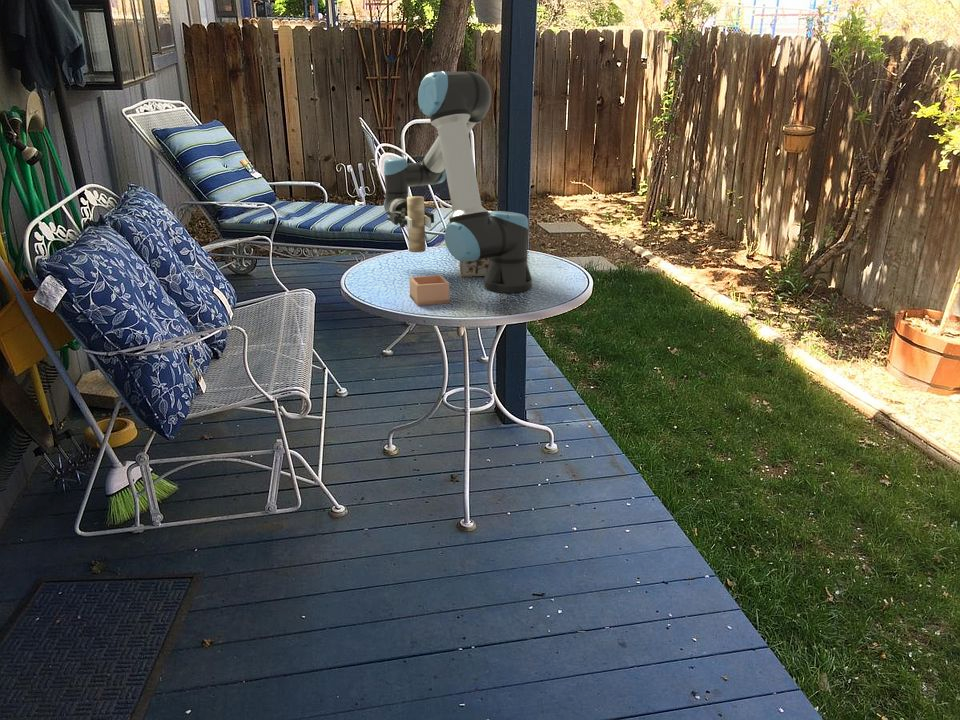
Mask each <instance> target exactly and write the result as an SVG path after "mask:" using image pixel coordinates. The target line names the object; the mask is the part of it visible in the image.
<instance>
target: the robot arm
mask: <svg viewBox="0 0 960 720" xmlns="http://www.w3.org/2000/svg"><path fill="white" fill-rule="evenodd" d="M491 91H492V90H491V86H490V85H489V82H488V81H487V80H486V78H485V77H483V76H482V75H481V74H479V73H477V72H474V71H446V70H445V71H444V70H440V71H432V72H429V73H428V74H426V75H425V76H424V77H423V79H422V80H421V81H420V85H419V88H418V93H417V94H418V95H417V102H418V103H417V104H418V107H419V110H420V111H421V112H422V113H423V115H426V117H429V120H430V121H429V122H430V124H431V126H433V127H434V128H436V130H437V133H438V136H437V137H436V139H435V141H434V142H433V144H432V145H431V147H430V148H429V150H428V151H427V153H426V154H425V156H424V157H423V160H422V161H420V162H410V163H409V162H408V161H407V159H406V158H404V157H389V158H386V159H385V161H384V165H383V166H384V167H383V174H384V184H385V185H384V186H385V191H384V192H385V193H384V195H385V197H384V198H385V199H384V201H383V208H384V210H385V212H386V218H387V219H386V220H387V221H390V222H392V224H394V225H395V226H399V224H400V228H406V227H407V229H408V228H409V229H412V219H410V218H409V217H408V211H407V197H409V187H421V186H430V185H432V186H433V185H438V184H442V183H443V182H445V180H446V182H447V187H448V192H449V198H450V202H451V208H452V213H451V214H450V216H449V217H448V219H449V224H448V225H447V226H446V227H445V230H444V231H445V232H444V243H445V246H446V248H447V251H448V252H449V254H450V255H451V256H452V257H453V258H454V259H455V260H456V261H459V262H460V261H462V262H466V261H476V260H480V259H485V258H490V262H489V265H488V268H487V271H486V274H485V277H483V287H484V289H486V290H488V291H492V292H495V293H496V292H497V293H502V294H503V293H504V294H505V293H506V294H507V293H508V294H509V293H513V294H514V293H515V294H516V293H521V292H526V290H527V291H529V290H531V289H532V287H533V279H532V274H531V271H530V268H529V263H528V249H529V246H528V245H529V244H528V243H529V229H530V228H529V218H528V217H527V215H525V214H523V213H518V212H513V211H505V210H504V211H503V210H492V211H491V212H490V213H489V211H488V210H487V209H486V208H485V207H483V205H482V199H481V195H480V191H479V184H478V178H477V173H476V168H475V163H474V157H473V152H472V151H473V150H472V146H471V140H470V135H469V134H470V133H471V131H472V130H473V128H474V127H475V125H476V124H479V123H481V122H482V121H483V119H484V118H485V117H486V115H487V113H489V109H490V107H491V104H492V92H491ZM424 219H425V227H427V228H428V229H432V224H434V223H435V214H434V213H433V212H431V211H430V209H424Z"/></svg>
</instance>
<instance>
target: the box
mask: <svg viewBox="0 0 960 720" xmlns="http://www.w3.org/2000/svg"><path fill="white" fill-rule="evenodd" d="M408 281H409V298H410V299H411V300H412V301H413V302H414V303H415V305H416V306H418V307H419V306H429V305H430V306H431V305H433V306H434V305H442V304H450V299H451V298H450V294H451V293H450V282H449V281H448V280H447V279H446V278H445V277H444V276H443V275H441V274H436V275H435V274H434V275H421V276H409V280H408Z"/></svg>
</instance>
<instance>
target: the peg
mask: <svg viewBox="0 0 960 720" xmlns="http://www.w3.org/2000/svg"><path fill="white" fill-rule="evenodd" d="M407 211H408V217H409V218H410V219H412V229H409V228H408V227H407V230H408V231H407V233H408V234H407V236H408V237H407V238H408V251H409V252H410V253H422V252H426V228H425V227H426V226H425V219H424V211H425V196H422V195H421V196H419V195H417V196H415V195H414V196H412V195H411V196H408V197H407Z"/></svg>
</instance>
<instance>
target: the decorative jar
mask: <svg viewBox="0 0 960 720" xmlns="http://www.w3.org/2000/svg"><path fill="white" fill-rule="evenodd" d="M489 262H490V258H485V259H480V260H476V261H466V262H462V261H459V277H460V278H463V277H464V278H473V277H472V276H485V274H486V271H487V268H488V265H489Z"/></svg>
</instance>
